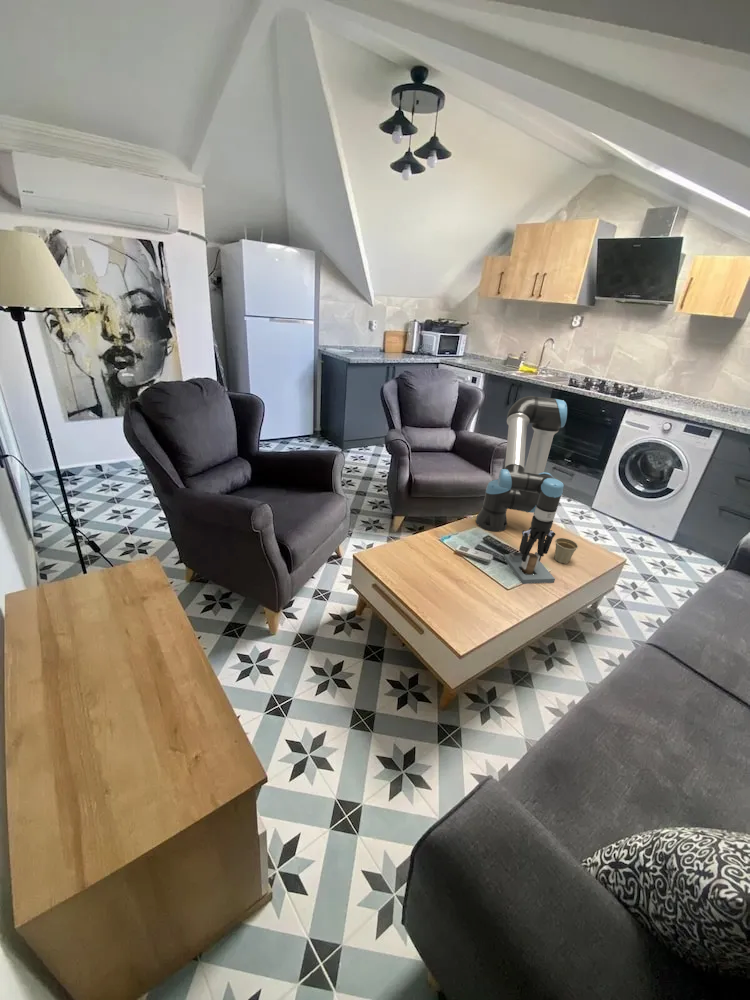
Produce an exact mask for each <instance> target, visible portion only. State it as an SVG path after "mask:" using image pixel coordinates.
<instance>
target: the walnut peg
mask: <svg viewBox="0 0 750 1000" xmlns="http://www.w3.org/2000/svg"><path fill="white" fill-rule="evenodd" d="M528 555H529V556H530V557H529V560H528V564H527V567H526V569H523V568H522V570H521V571H522V572H523V573H524V575H533V571H534V568H535V565H536V562H537V558H538V557H537V556H536V555H535V553H534V552H529V554H528Z"/></svg>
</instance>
